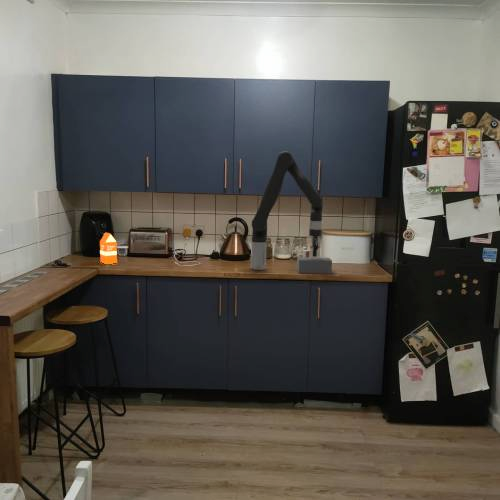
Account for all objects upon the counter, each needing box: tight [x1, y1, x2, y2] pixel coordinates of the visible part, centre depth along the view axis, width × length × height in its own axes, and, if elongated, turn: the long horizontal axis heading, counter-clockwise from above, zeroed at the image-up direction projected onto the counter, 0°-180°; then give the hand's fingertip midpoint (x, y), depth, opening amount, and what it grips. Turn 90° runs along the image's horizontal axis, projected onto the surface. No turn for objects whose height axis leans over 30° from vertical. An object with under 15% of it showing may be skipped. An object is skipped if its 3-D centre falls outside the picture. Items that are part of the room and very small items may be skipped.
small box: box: [302, 249, 310, 257], centre depth 302 cm, size 8×6×10 cm
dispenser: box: [296, 256, 333, 274], centre depth 283 cm, size 20×10×9 cm, turn 91°
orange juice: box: [99, 232, 118, 265], centre depth 297 cm, size 8×9×20 cm
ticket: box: [309, 245, 321, 258], centre depth 283 cm, size 6×1×14 cm, turn 91°
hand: (314, 256), depth 282 cm, fingers closed on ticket, 1 cm apart
